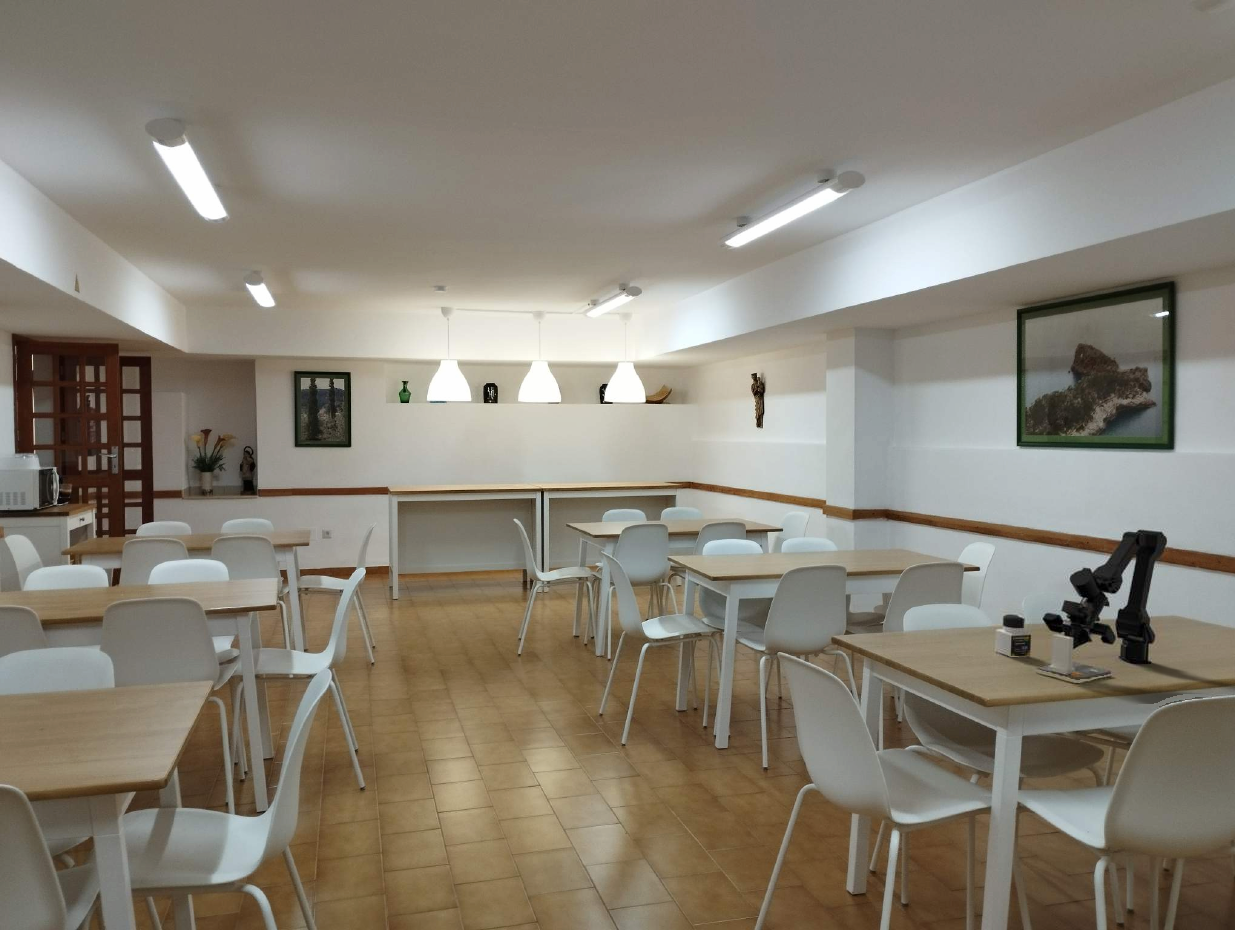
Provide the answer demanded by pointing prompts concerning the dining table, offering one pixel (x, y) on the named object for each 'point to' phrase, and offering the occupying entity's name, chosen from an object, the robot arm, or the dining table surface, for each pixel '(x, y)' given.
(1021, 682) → the dining table surface
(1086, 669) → the switch panel
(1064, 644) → the tab
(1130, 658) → the robot arm
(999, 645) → the medicine bottle
